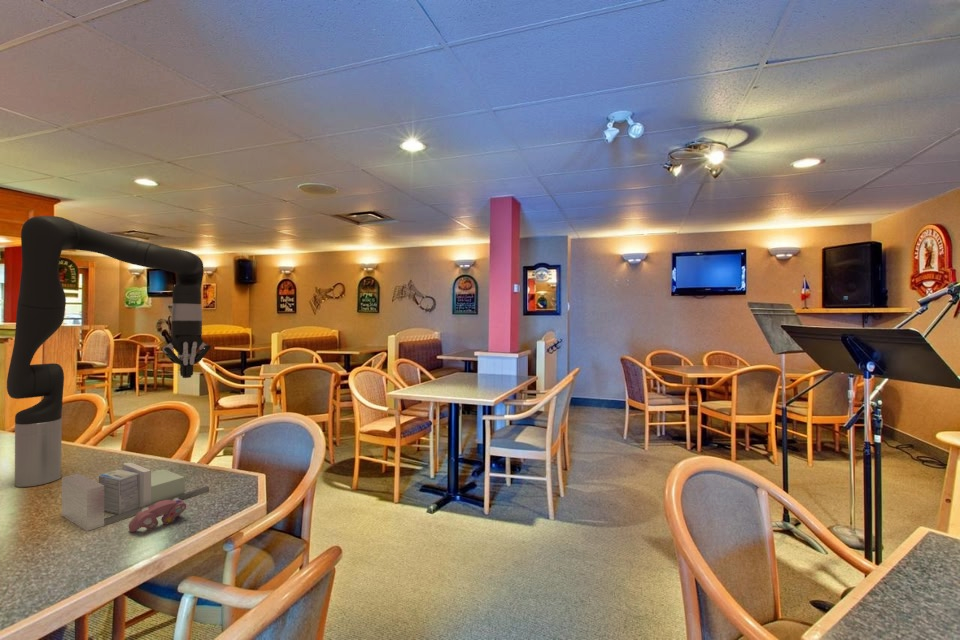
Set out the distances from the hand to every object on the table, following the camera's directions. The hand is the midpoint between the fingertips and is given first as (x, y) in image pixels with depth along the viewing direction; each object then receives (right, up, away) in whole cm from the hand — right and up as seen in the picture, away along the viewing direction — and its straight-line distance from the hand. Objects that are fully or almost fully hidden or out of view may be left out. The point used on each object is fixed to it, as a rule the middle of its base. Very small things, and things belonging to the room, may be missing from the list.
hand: (186, 377), depth 127 cm
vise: (+1, -29, -19) cm, 35 cm away
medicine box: (-1, -29, -23) cm, 37 cm away
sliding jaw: (+3, -29, -17) cm, 33 cm away
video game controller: (+15, -29, -31) cm, 45 cm away
